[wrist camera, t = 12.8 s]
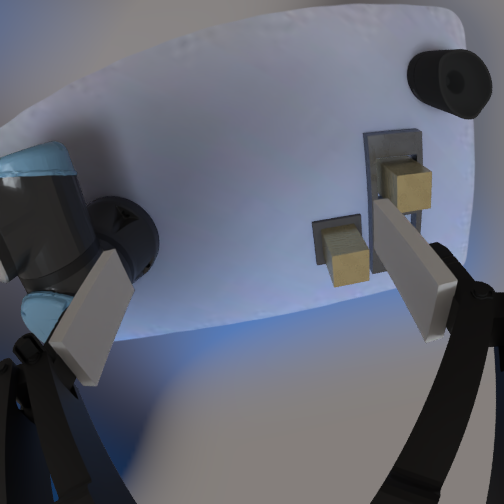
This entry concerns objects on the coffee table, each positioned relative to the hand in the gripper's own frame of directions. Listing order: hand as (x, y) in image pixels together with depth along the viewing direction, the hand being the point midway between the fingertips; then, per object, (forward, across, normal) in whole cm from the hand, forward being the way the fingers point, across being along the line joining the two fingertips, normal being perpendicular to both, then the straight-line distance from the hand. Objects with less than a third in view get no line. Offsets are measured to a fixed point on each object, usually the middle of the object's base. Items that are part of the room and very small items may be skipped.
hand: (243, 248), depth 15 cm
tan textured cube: (+31, +11, -20) cm, 39 cm away
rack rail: (+32, +21, -15) cm, 41 cm away
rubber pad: (+32, +11, -20) cm, 39 cm away
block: (+32, +21, -10) cm, 39 cm away
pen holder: (+32, +29, +5) cm, 43 cm away
